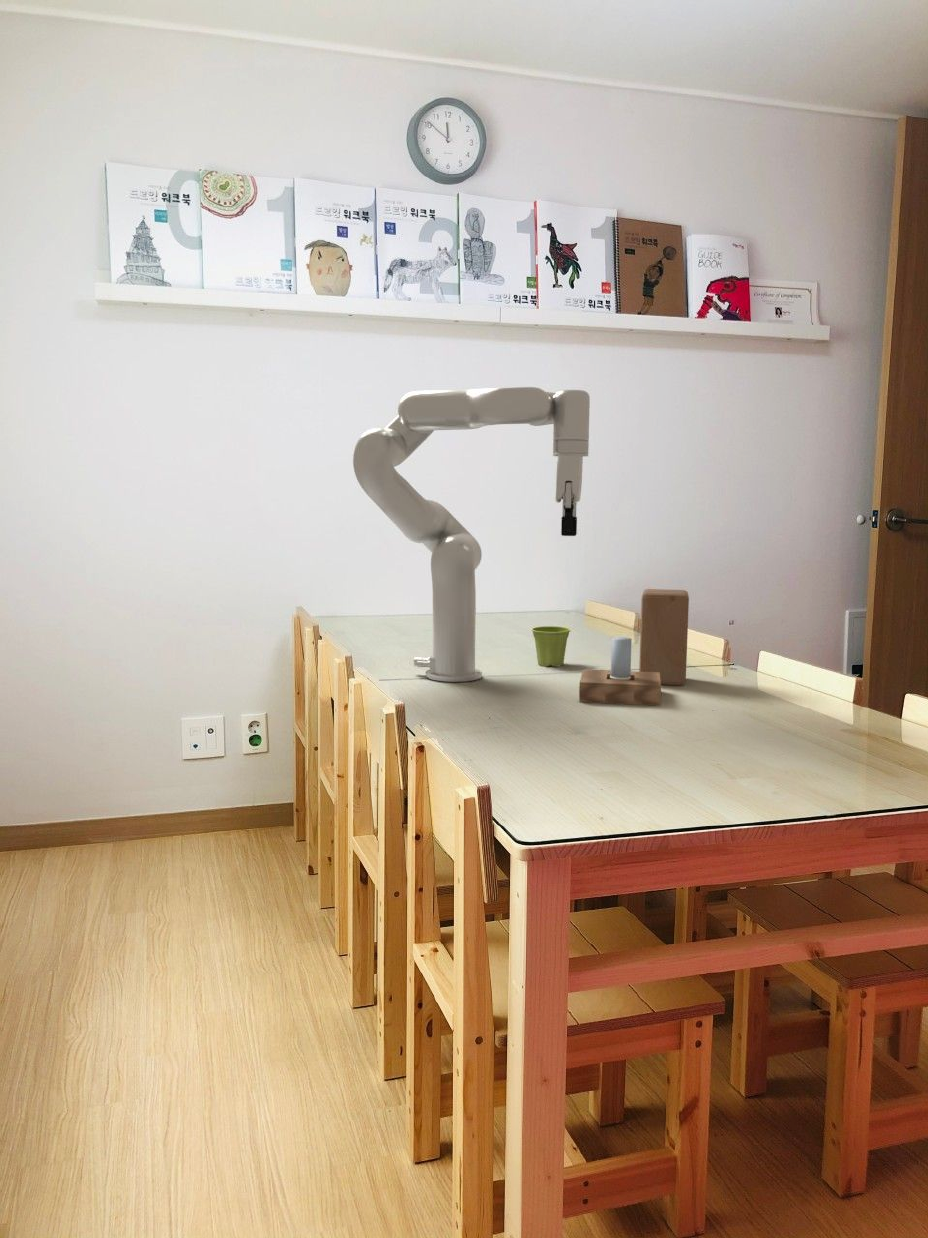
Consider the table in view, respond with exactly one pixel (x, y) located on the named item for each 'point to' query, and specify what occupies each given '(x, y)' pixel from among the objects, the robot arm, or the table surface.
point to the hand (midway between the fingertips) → (568, 535)
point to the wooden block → (664, 634)
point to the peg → (620, 658)
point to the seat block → (620, 688)
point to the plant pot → (550, 644)
